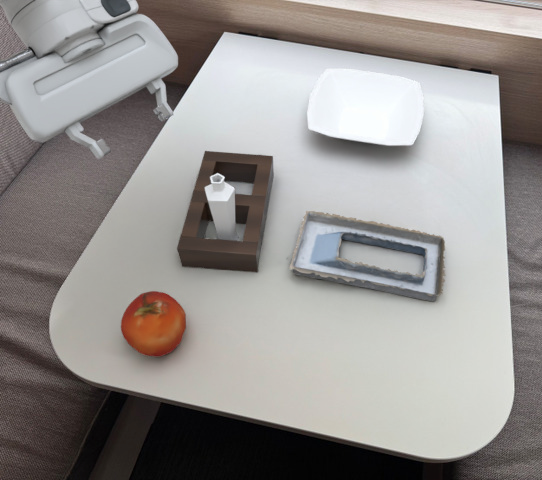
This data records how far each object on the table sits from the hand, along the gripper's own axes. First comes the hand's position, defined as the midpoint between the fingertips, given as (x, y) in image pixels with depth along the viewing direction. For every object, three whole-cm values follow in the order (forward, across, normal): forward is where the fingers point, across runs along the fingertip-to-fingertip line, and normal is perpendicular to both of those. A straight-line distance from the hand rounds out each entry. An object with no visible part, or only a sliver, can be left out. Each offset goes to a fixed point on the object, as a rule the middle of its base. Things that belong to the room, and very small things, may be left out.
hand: (137, 136), depth 64 cm
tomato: (+25, -10, +14) cm, 30 cm away
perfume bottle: (+21, +9, +18) cm, 29 cm away
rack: (+19, +13, +20) cm, 30 cm away
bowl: (+20, +49, +19) cm, 56 cm away
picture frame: (+36, +22, +3) cm, 42 cm away
